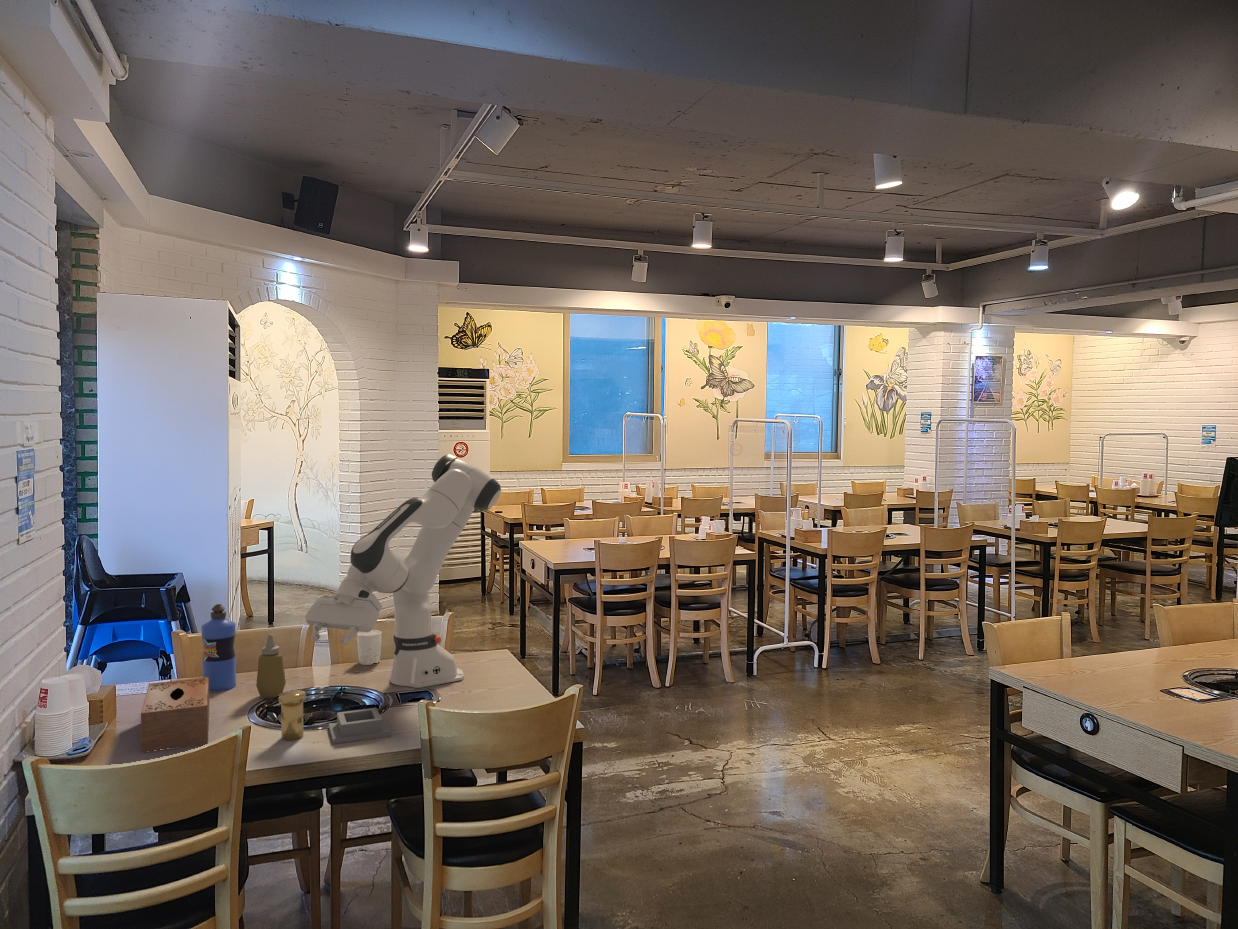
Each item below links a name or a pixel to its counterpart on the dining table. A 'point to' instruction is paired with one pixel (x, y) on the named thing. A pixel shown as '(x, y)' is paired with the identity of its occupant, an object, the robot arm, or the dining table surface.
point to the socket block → (358, 726)
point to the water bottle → (219, 651)
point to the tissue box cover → (175, 714)
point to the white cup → (369, 647)
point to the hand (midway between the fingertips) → (328, 641)
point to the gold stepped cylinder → (292, 714)
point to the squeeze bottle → (270, 671)
